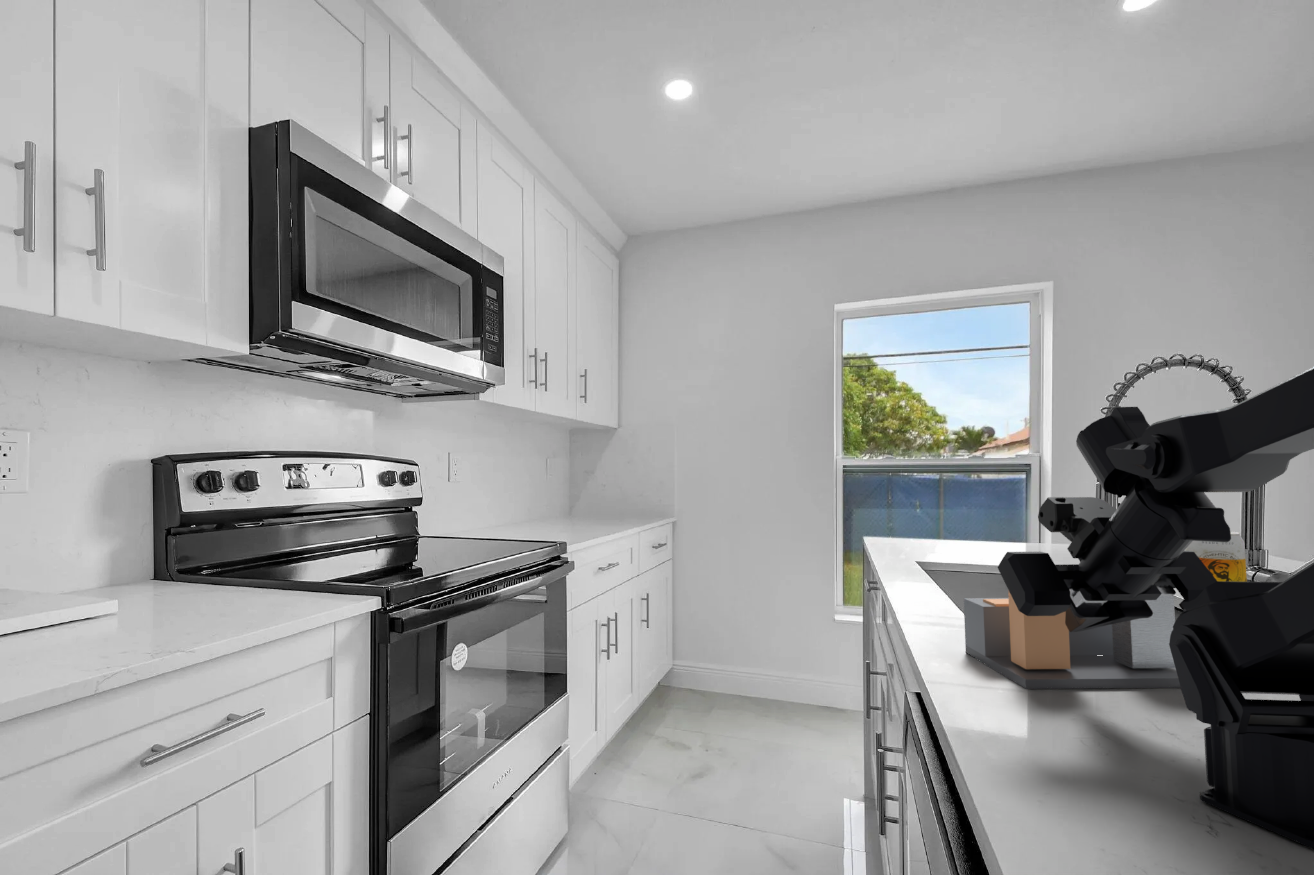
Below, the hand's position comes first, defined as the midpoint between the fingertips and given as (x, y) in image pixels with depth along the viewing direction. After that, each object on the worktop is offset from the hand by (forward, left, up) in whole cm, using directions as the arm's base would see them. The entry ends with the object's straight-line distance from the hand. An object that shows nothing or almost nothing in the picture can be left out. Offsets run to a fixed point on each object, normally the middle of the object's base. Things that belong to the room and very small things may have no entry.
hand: (1070, 627), depth 66 cm
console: (+6, -9, -7) cm, 13 cm away
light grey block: (+1, -13, -6) cm, 14 cm away
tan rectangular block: (+5, -2, -6) cm, 8 cm away
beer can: (+6, -36, -7) cm, 37 cm away
